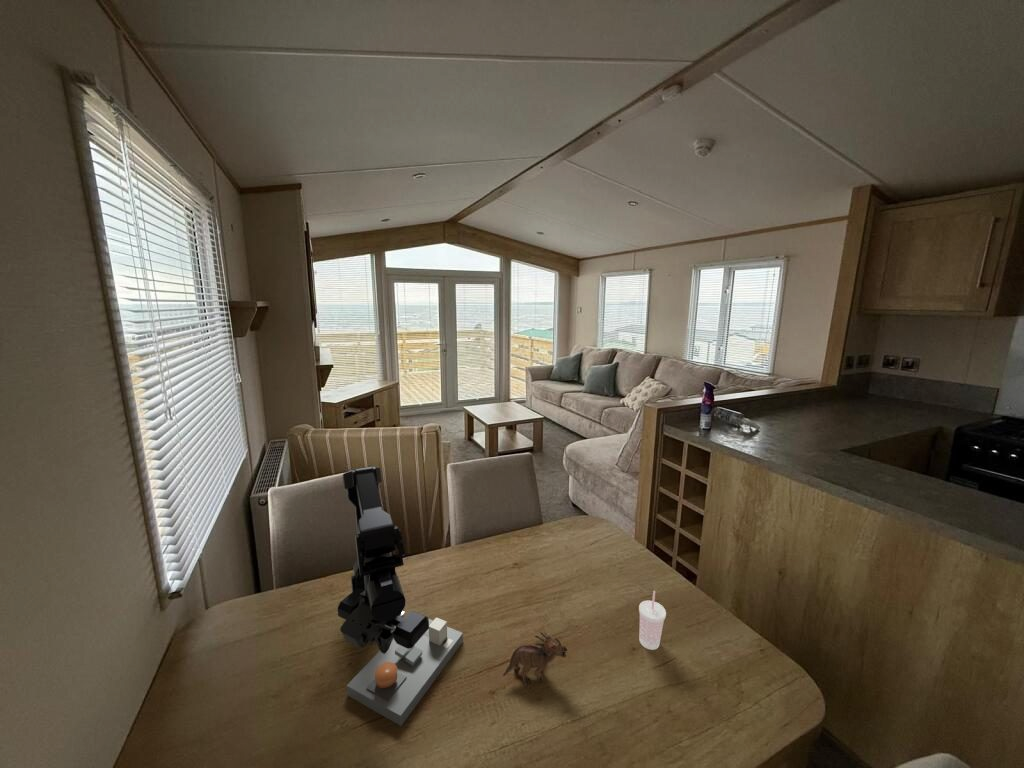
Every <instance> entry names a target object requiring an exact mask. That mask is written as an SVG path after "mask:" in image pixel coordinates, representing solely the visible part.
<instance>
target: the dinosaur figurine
mask: <svg viewBox="0 0 1024 768" xmlns="http://www.w3.org/2000/svg"><path fill="white" fill-rule="evenodd" d="M539 634H540V635H541V636H542V637H541V636H539V635H534V637H535V638H537V639H538V640H540V641H541V642H537V643H535V644H534V645H533V644H520V645H519V646H518V647H517V648H515V650H514V652H513V653H512V655H511V658H510V662H509V664H508V667H507V668H506V669H505V671H504V673H503V674H502V676H503V677H505V676H506V675H507V674H508V673H509V672H511V671H512V670H513V669H514V670H517V671H519V670H520V668H521V667H520V665H521V666H523V667H522V670H521V673H520V675H521V677H522V680H523V681H522V682H523V683H524V685H525V686H527V685H528V684H530V683H531V682H530V681H531V678H530V677H528V676H527V675H528V673H529V672H530V671H531V669H532V668H533V669H535V668H536V669H535V670H534V672H533V675H534V677H536V681H537V682H540V683H543V680H544V679H543V678H542V677H543V676H540V674H541V673H542V671H544V670H546V668H547V666H548V664H550V663H551V662H553V660H554V659H556V657H561V658H565V659H566V657H567V652H568V648H567V647H566V645H564V644H562V642H561V641H560V639H559V638H557V637H554V639H555V641H554V640H553V639H552V637H551V636H550V635H549V634H547V632H546V631H544V633H543V632H542V631H539ZM543 637H544V638H543ZM539 646H540V647H539Z"/></svg>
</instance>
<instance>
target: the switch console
mask: <svg viewBox="0 0 1024 768" xmlns="http://www.w3.org/2000/svg"><path fill="white" fill-rule="evenodd" d="M428 619H429V625H430V624H431V623H432V622H433V621H434V619H431V618H428ZM463 637H464V634H463V632H461V631H459V630H456V629H454V628H452V627H450V626H447V637H446V639H445V640H444V641H443V642H442V644H441V645H440V646H439V645H437V644H435V643H432V642H430V641H429V629H428V630H427V631H426V632H425V633H424V635H423V636H422V637H421V638H420V639H419V640H418V642H417V643H416V644H415V645H414V646H415V647H417V648H418V649H420V650H422V651H423V652H422V655H421V657H420V658H419V659H418V660H417V661H416V663H415V664H414V665H413V666H412V665H411V664H409V663H408V662H406V661H404V660H403V659H402V658H400V657H399V656H397V655H396V654H395V650H396V649H397V648H398V647H399V646H400V645H399V644H397V643H396V642H395V640H394V639H393V640H392V642H391V645H390V647H389V649H388V651H387V652H386V653H385V654H384V653H382V652H381V651H380V650H379V651H378V652H377V653H376V654H375V655H374V656H373V657H372V658H371V659H370V660H369V662H368V663H367V664H366V665H365V666H363V668H361V670H360V671H359V672H358V673H357V674H356V675H355V676H354V677H353V678H352V680H350V682H349V683H347V685H346V693H347V696H348V697H350V698H351V699H353V700H354V701H356V702H358V703H360V704H362V705H364V706H365V707H367V709H371V710H372V711H374V712H375V713H377V714H379V715H381V716H382V717H385V718H386V719H388V720H389V721H392V722H393V723H394V724H397V725H398V726H400V727H402V726H403V724H404V723H405V722H406V720H407V719H408V717H409V716H410V715H411V713H412V712H413V711H414V709H415V708H416V707H417V705H418V704H419V703H420V701H421V700H422V698H424V696H425V694H426V693H427V692H428V690H429V689H430V687H431V686H432V685H433V684H434V682H436V679H437V678H438V676H439V675H440V674H441V672H442V671H443V669H444V668H445V667H446V666H447V664H448V663H449V661H450V660H451V659H452V658H453V656H454V655H455V653H456V651H458V649H459V648H460V646H462V644H463V642H464V639H463ZM386 662H392V663H394V664H395V665H396V666H397V675H398V676H397V680H396V681H395V683H394V684H393V685H391V686H389V687H386V688H380V687H378V686H377V685H376V683H375V671H376V669H377V668H378V667H379V666H380V665H381V664H383V663H386Z"/></svg>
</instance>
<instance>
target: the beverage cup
mask: <svg viewBox="0 0 1024 768" xmlns="http://www.w3.org/2000/svg"><path fill="white" fill-rule="evenodd" d="M652 592H653V593H652V600H650V599H649V600H643V601H642V602H640V603H639V605H638V612H639V631H638V632H639V636H638V637H639V638H638V639H639V643H640V644H641V645H642V646H643V647H644V648H645V649H647V650H652V651H653V650H657V649H658V648H659V646H660V643H661V638H662V637H661V636H662V633H663V628H664V627H663V626H664V622H665V620H666V617H667V610H666V609H665V607H664V606H663V605H662V604H660V603H659V602H657V601H655V599H656V590H652Z"/></svg>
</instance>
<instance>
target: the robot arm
mask: <svg viewBox="0 0 1024 768" xmlns="http://www.w3.org/2000/svg"><path fill="white" fill-rule="evenodd" d="M382 479H383V478H382V473H381V467H376V466H374V465H369V466H364V467H357V468H351V469H347V472H344V473H343V474H342V484H343V491H346V493H347V494H346V495H347V499H348V500H349V501H350V503H352V505H353V506H354V509H355V512H354V514H355V523H356V526H355V527H356V534H355V535H354V536H355V538H354V540H355V549H356V555H357V559H356V560H355V562H354V564H353V566H352V567H353V569H352V570H353V575H352V576H351V577H350V585H351V586H350V587H351V592H350V593H349V594H348V595H347V596H346V597H344V598H343V599H342V600H341V601H339V604H338V605H337V616H338V617H339V618H342V619H343V620H345V621H344V622H343V624H342V625H341V626H340V633H341V634H342V636H343V637H344V640H346V642H347V643H351V644H353V645H355V646H356V647H358V648H360V649H362V648H364V647H366V646H367V645H368V643H369V644H375V643H376V645H377V647H378V648H379V651H381V652H382V653H384V654H385V653H386V652H387V651H388V649H389V647H390V645H391V642H392V640H393V639H394V640H395V642H396V643H397V644H399V645H401V646H403V647H405V648H407V649H409V648H412V647H413V646H414V645H415V644H416V643H417V642H418V640H419V639H420V638H421V637H422V636H423V635H424V633H425V632H426V631H427V630H428V629H429V619H430V618H429V617H428V616H426V615H424V614H421V613H420V612H417V611H413V610H410V612H408V613H407V614H406V616H404V615H405V611H404V609H405V607H406V602H407V601H406V597H405V594H404V591H403V587H402V584H401V582H400V578H399V575H398V574H397V573H396V568H399V567H403V566H404V559H403V557H405V556H406V551H405V550H406V549H405V546H404V541H403V535H402V530H400V528H399V526H398V525H395V524H394V520H393V517H392V515H391V514H390V513H388V512H386V511H385V510H384V508H383V504H382V500H381V496H380V492H379V490H380V488H379V485H381V484H382V483H383V480H382ZM395 551H396V553H397V554H396V555H392V553H395Z"/></svg>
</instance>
